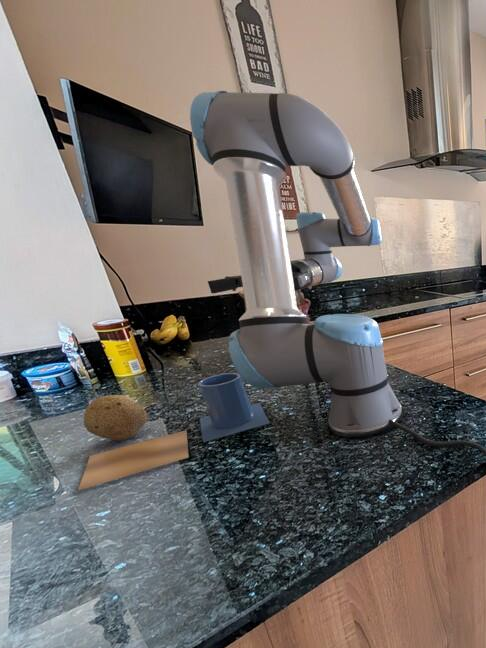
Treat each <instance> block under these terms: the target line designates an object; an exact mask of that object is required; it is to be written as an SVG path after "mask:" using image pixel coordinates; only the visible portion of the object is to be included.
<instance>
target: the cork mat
mask: <svg viewBox="0 0 486 648" xmlns="http://www.w3.org/2000/svg"><path fill="white" fill-rule="evenodd" d="M187 431H188V430H187V429H186V430H181V431H177V432H173V433H170V434H166V435H162V436H158V437H155V438H151V439H148V440H144V441H140V442H136V443H133V444H128V445H125V446H121V447H117V448H114V449H110V450H106V451H102V452H99V453H95V454H92V455H91V454H90V455H89V458H88V460H87V462H86V466H85V469H84V472H83V475H82V477H81V480H80V483H79V486H78V489H77V491H82V490H85V489H88V488H91V487H96V486H99V485H101V484H105V483H108V482H111V481H115V480H118V479H121V478H125V477H128V476H132V475H134V474H138V473H141V472H145V471H148V470H151V469H152V470H153V469H155V468H158V467H162V466H165V465H168V464H171V463H175V462H178V461H182V460H185V459H188V458H190V457H189V444H188V432H187Z"/></svg>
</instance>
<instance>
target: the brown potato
mask: <svg viewBox="0 0 486 648" xmlns="http://www.w3.org/2000/svg"><path fill="white" fill-rule="evenodd" d="M115 395H116V394H109V395H108V394H107V395H102V396H99V397H97V398H95V399H94V400H92V401H91V402H90V403H89V404H88V405H87V406H86V408H85V411H84V414H83V425H84V427H85V429H86V430H87V432H89V433H90V434H92V435H94V436H96V437H99V438H103V439H108V440H112V441H116V442H124V441H127V440H130V439H131V438H134V436H136V434H137V433H138V431H140V429H141V428H142V427H143V426H144V425H145V424H146V423H147V421H148V413H147V412H146V410H145V409H144V408H143V407H142V406H140V404H138V403H137V402H136V401H135V400H134V399H133V400H134V401H135V402H134V401H133V400H131V399H128V398H126V397H121V396H115Z"/></svg>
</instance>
